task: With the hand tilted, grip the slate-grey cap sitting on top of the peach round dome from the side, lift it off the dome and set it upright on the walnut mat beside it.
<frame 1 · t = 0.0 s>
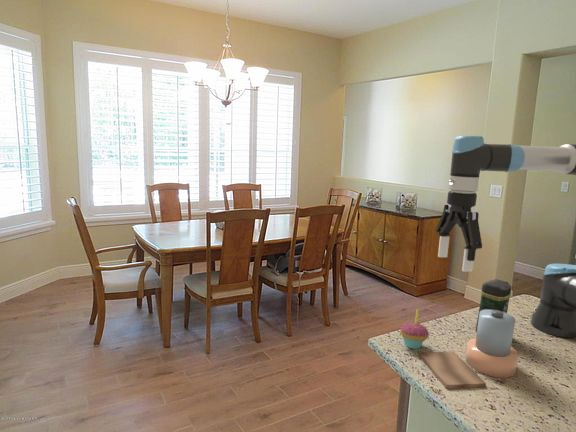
hand: (454, 263, 116), 28 cm above the worktop, tool pointing down, fingers open, 13 cm apart
peach round dome: (490, 364, 115), on the worktop
cap: (492, 348, 114), point 5 cm above the worktop, touching peach round dome
cupcake: (413, 346, 124), on the worktop
coffee jar: (489, 334, 134), on the worktop
mat: (449, 370, 111), on the worktop
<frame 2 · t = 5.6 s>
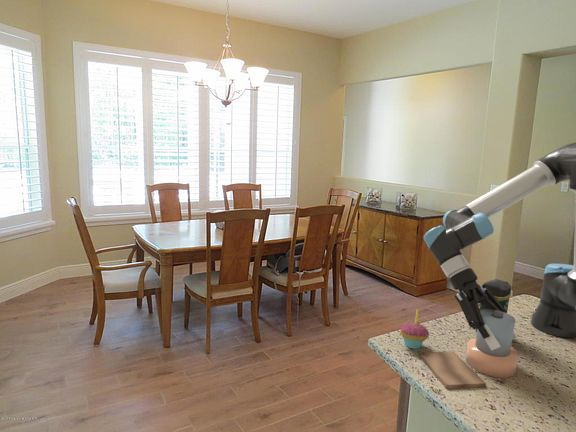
hand: (505, 343, 111), 8 cm above the worktop, tool tilted 45°, fingers closed on cap, 9 cm apart
cap: (492, 348, 114), point 5 cm above the worktop, touching peach round dome, gripper
everything else where it was.
when the fingers open (5 cm above the worktop, at t = 12.0 s): cap drops 1 cm, resting on mat.
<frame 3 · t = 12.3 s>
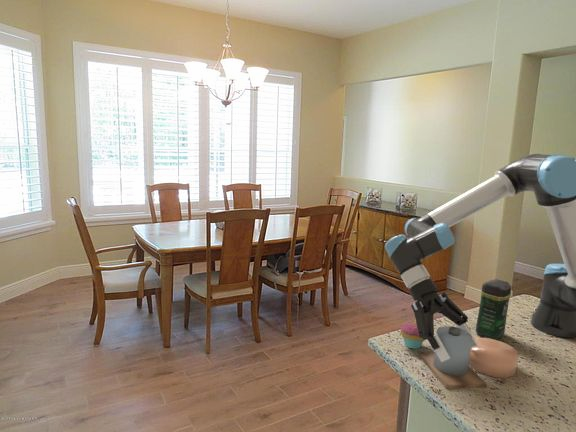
hand: (460, 353, 108), 6 cm above the worktop, tool tilted 45°, fingers open, 13 cm apart
cap: (450, 366, 111), point 1 cm above the worktop, touching mat
everything else where it was.
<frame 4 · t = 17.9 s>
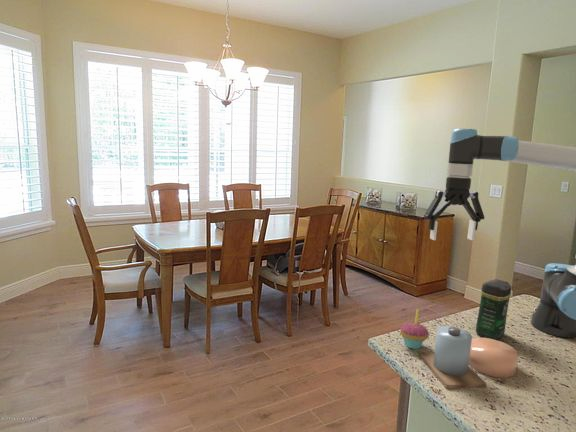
hand: (451, 239, 134), 31 cm above the worktop, tool pointing down, fingers open, 13 cm apart
nothing on the worktop moved.
at the end: cap inside the target area (0.1 cm from its centre), point 1.0 cm above the worktop; cap tilted 1°; cap touching mat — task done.
